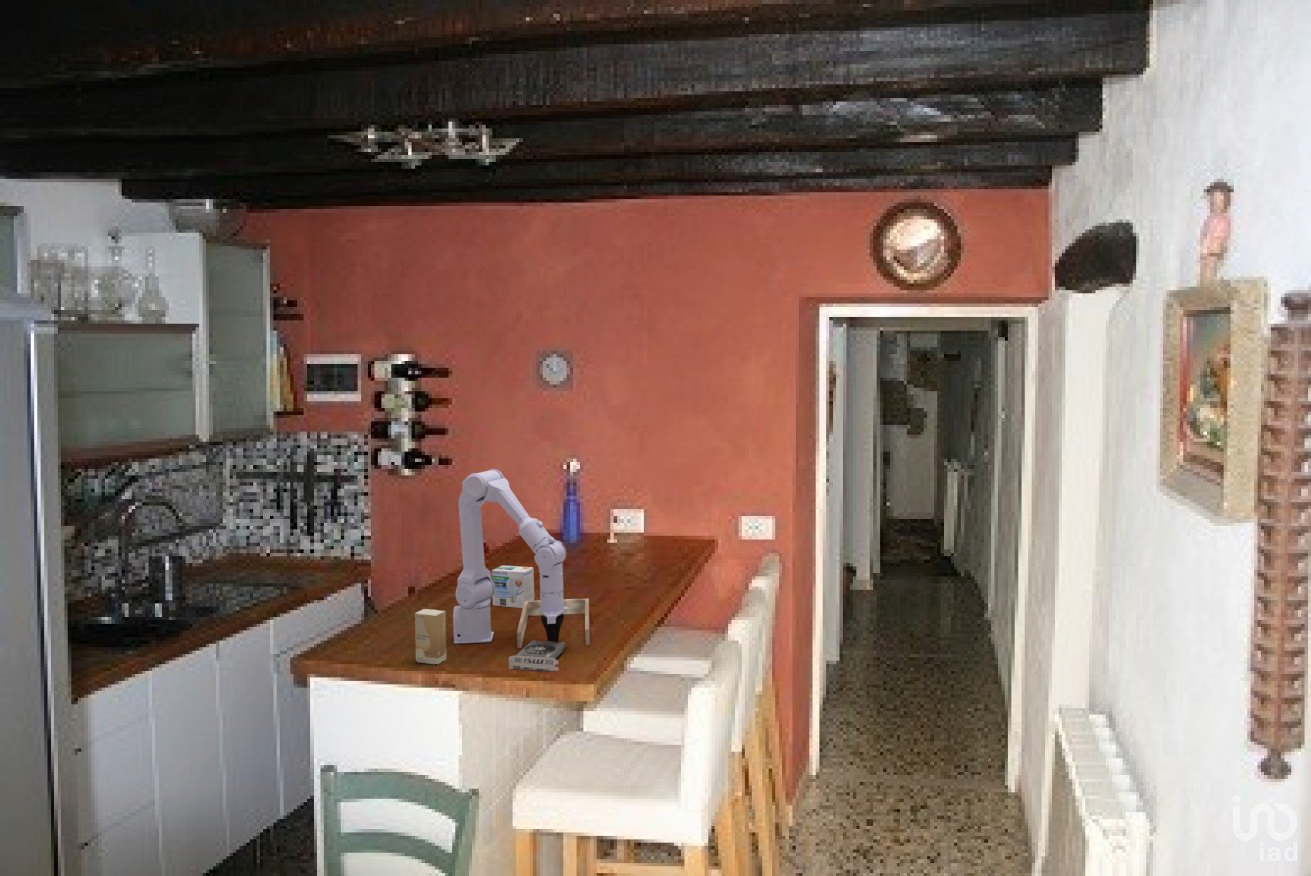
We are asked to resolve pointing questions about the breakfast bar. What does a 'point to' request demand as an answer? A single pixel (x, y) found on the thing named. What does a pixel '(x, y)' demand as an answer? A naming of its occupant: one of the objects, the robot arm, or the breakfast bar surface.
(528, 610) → the wooden frame
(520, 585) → the light bulb box
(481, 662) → the breakfast bar surface
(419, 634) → the skincare box
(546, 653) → the graphics card
